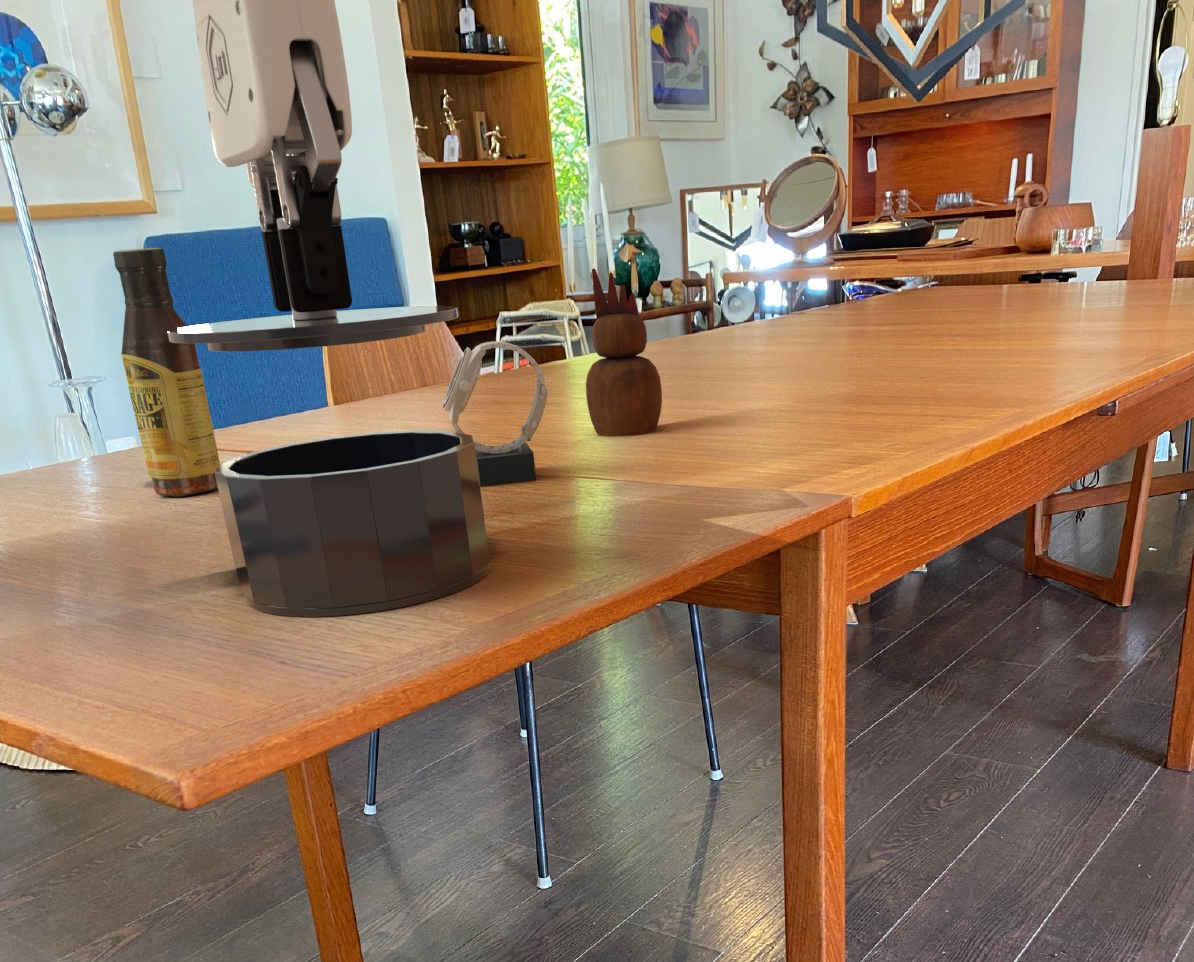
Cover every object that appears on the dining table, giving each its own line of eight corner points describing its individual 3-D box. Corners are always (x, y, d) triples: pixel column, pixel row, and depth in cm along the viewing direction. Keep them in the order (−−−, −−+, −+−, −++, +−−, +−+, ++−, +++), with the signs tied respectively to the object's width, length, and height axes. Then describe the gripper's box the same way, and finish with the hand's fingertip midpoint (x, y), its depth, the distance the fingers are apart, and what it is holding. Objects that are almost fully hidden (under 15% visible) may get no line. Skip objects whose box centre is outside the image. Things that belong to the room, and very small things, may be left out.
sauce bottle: (143, 495, 105) (82, 253, 97) (207, 482, 109) (155, 248, 100) (172, 502, 101) (111, 249, 92) (239, 488, 104) (186, 243, 96)
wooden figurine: (579, 448, 108) (563, 271, 102) (613, 437, 112) (600, 267, 106) (641, 449, 104) (629, 266, 98) (674, 437, 109) (664, 261, 102)
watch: (453, 490, 94) (433, 346, 89) (551, 479, 95) (537, 335, 90) (456, 504, 89) (435, 351, 84) (560, 491, 90) (545, 339, 85)
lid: (210, 362, 55) (181, 217, 52) (146, 349, 67) (120, 232, 64) (507, 329, 61) (495, 200, 59) (399, 323, 74) (385, 216, 71)
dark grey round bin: (285, 634, 61) (255, 490, 58) (219, 582, 73) (190, 459, 70) (531, 577, 67) (516, 444, 64) (433, 538, 79) (416, 423, 76)
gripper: (135, -68, 60) (209, 314, 68) (208, -165, 48) (289, 319, 56) (277, -62, 64) (332, 303, 72) (381, -151, 51) (434, 305, 59)
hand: (313, 306), depth 63 cm, fingers closed on lid, 2 cm apart
